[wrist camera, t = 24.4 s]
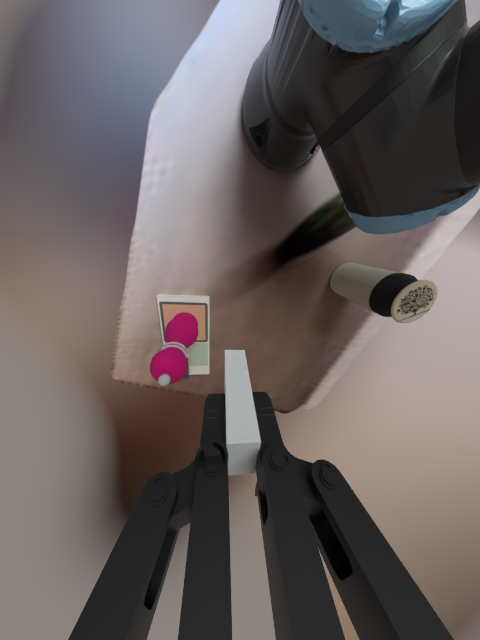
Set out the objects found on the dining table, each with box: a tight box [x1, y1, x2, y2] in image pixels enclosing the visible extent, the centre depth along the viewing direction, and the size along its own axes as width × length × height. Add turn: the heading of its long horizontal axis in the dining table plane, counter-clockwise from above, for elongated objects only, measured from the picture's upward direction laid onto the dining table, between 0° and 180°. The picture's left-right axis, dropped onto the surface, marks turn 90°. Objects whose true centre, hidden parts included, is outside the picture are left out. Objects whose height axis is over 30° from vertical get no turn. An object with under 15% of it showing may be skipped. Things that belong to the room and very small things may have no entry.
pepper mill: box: [150, 312, 198, 386], centre depth 35 cm, size 7×7×20 cm
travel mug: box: [330, 263, 437, 323], centre depth 36 cm, size 8×8×18 cm
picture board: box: [157, 294, 210, 378], centre depth 45 cm, size 12×24×3 cm, turn 176°
